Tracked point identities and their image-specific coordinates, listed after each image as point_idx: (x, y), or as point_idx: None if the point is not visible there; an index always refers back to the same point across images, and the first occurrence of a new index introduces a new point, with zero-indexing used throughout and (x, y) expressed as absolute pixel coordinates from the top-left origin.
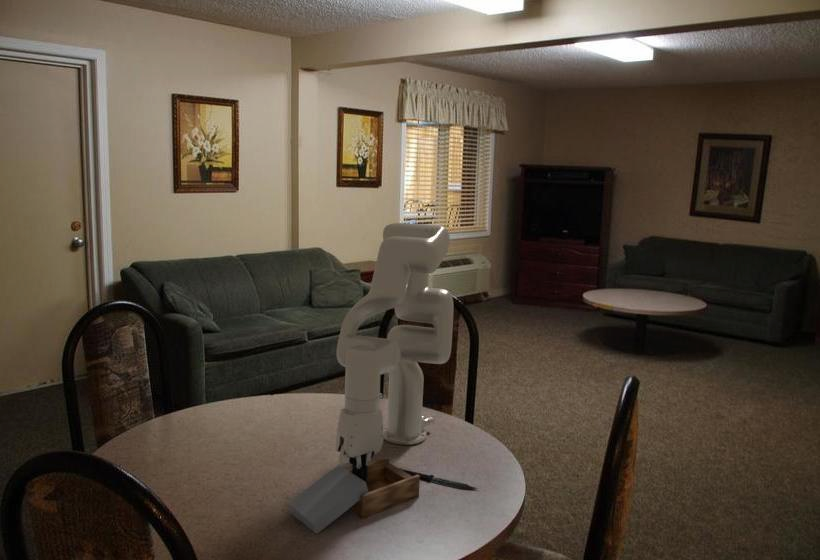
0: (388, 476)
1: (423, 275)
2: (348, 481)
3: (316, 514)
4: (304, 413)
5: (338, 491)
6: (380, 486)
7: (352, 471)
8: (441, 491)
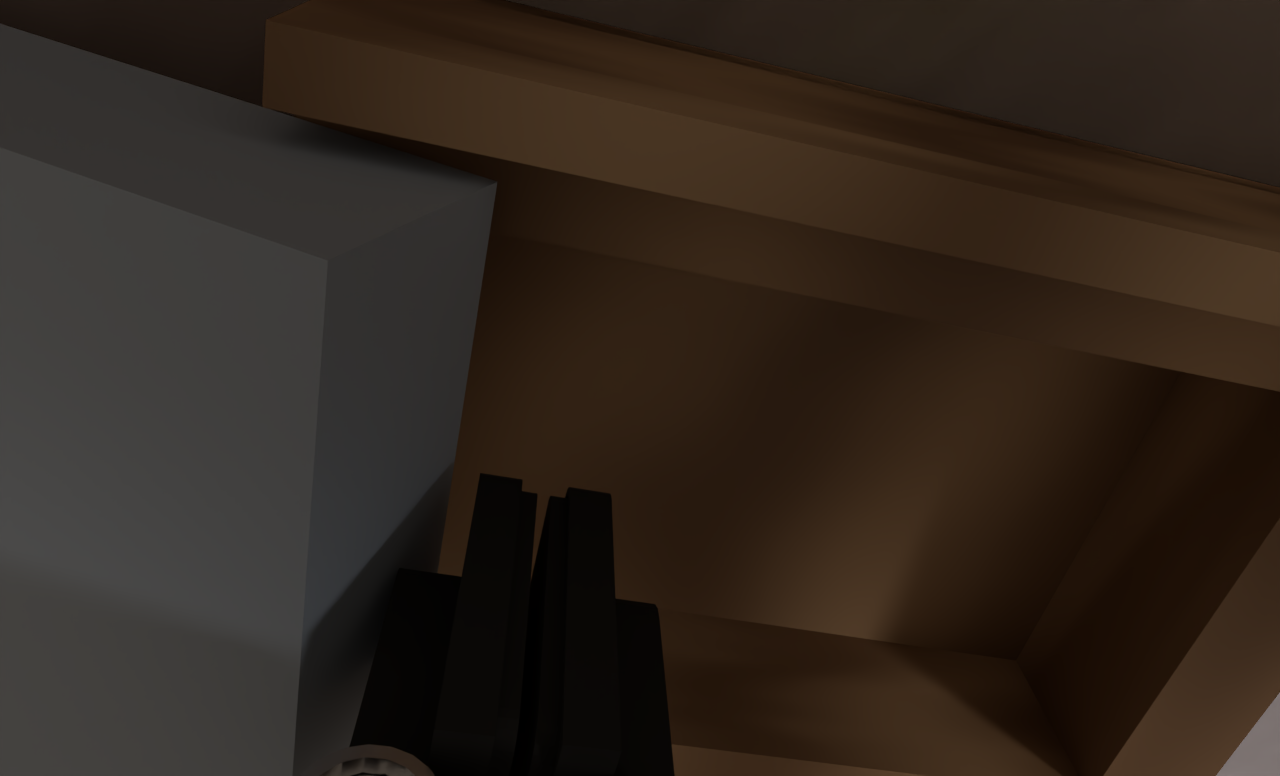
0: (1221, 412)
1: None
2: (129, 734)
3: None
4: None
5: None
6: (997, 389)
7: (374, 666)
8: (1253, 772)
